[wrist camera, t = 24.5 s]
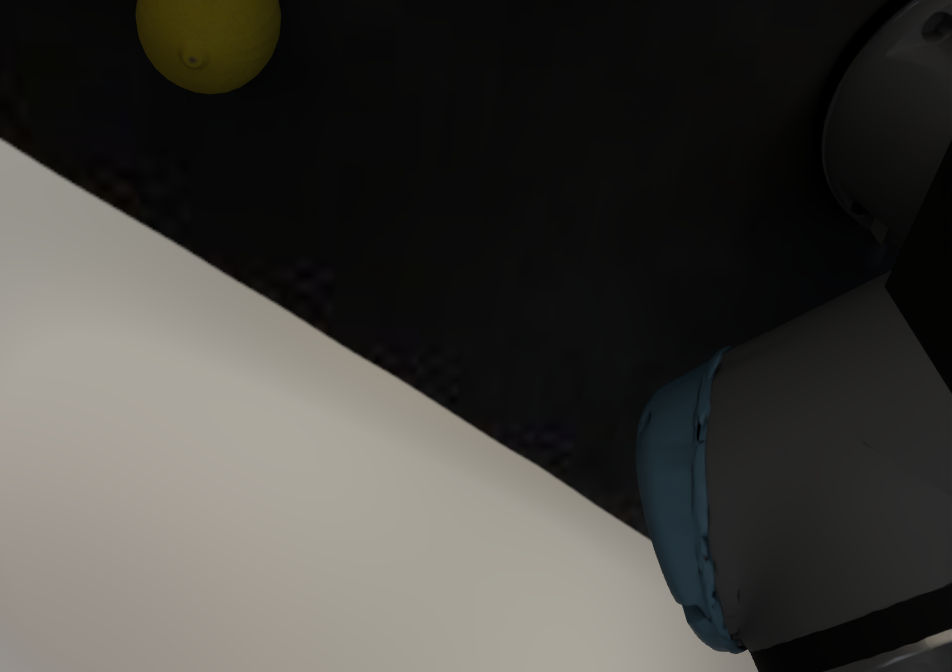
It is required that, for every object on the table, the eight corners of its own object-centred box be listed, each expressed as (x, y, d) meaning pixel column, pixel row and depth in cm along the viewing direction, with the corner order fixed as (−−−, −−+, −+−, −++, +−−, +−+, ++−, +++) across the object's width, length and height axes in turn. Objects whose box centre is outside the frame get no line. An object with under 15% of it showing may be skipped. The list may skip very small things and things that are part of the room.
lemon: (169, 35, 40) (127, 122, 34) (152, -94, 36) (100, -23, 30) (292, 44, 41) (272, 131, 35) (287, -82, 37) (263, -10, 31)
